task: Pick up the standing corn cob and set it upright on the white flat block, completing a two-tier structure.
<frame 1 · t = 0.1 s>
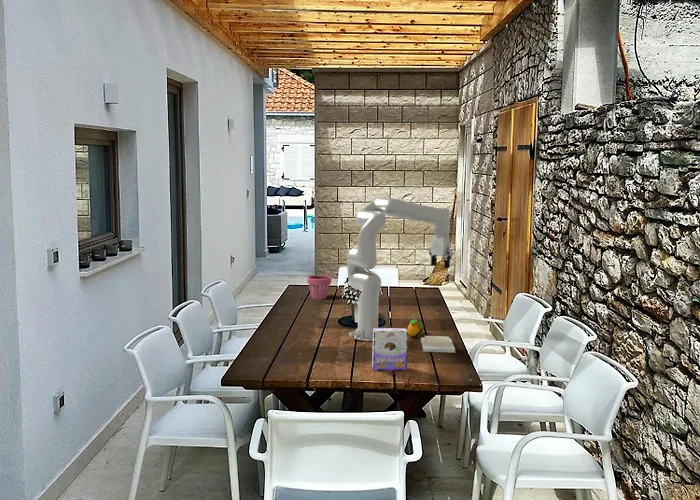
hand: (440, 266, 379), 31 cm above the table, fingers open, 9 cm apart
plant pot: (318, 298, 456), on the table
corn: (414, 336, 363), on the table
candy box: (389, 369, 306), on the table
white flat block: (437, 346, 344), on the table
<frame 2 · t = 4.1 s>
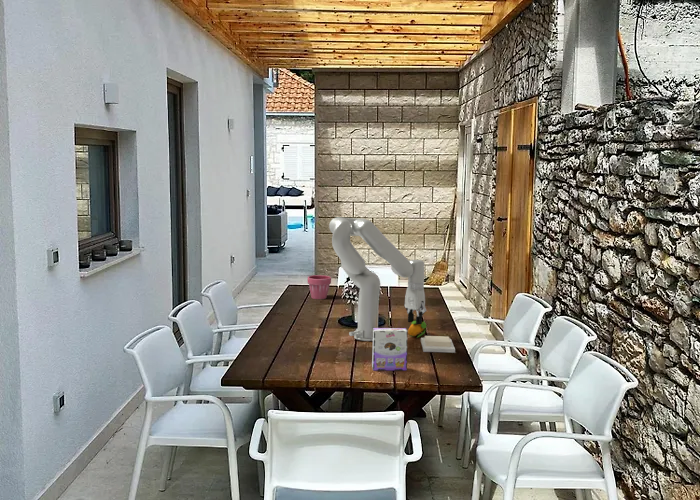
hand: (414, 322, 363), 7 cm above the table, fingers open, 5 cm apart
corn: (416, 336, 363), on the table, touching gripper
everything else where it was.
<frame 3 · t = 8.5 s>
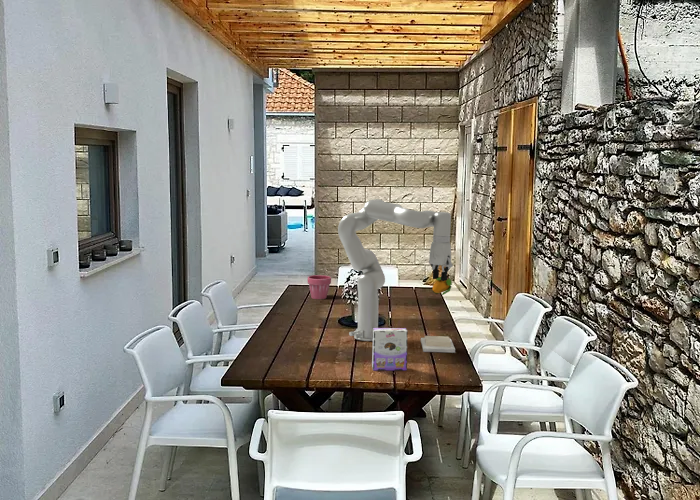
hand: (439, 279, 341), 31 cm above the table, fingers closed on corn, 4 cm apart
corn: (441, 294, 341), point 24 cm above the table, touching gripper
everything else where it was.
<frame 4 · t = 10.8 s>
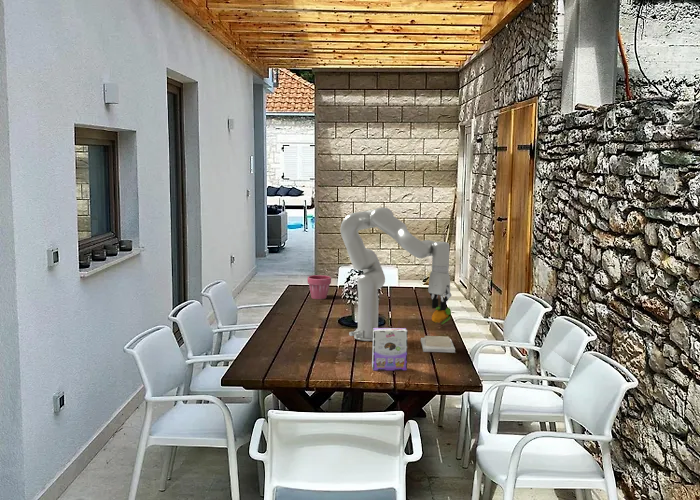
hand: (439, 308, 342), 18 cm above the table, fingers closed on corn, 4 cm apart
corn: (440, 323, 343), point 11 cm above the table, touching gripper
everything else where it was.
when the fingers open (11 cm above the table, at t = 12.5 s): corn drops 1 cm, resting on white flat block.
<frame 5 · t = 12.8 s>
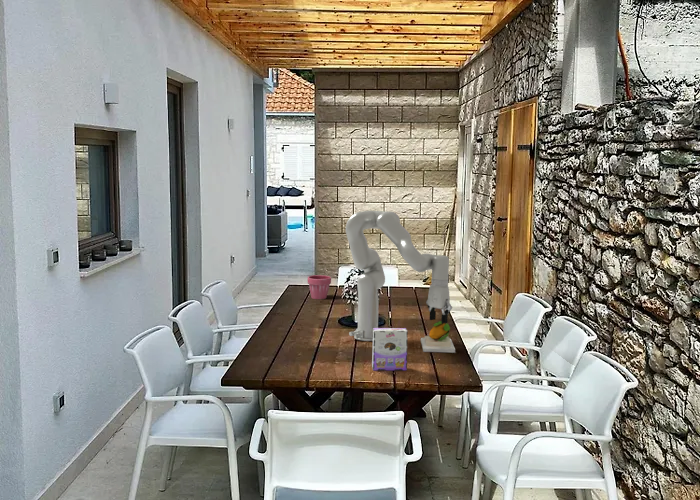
hand: (438, 321, 343), 12 cm above the table, fingers open, 7 cm apart
corn: (438, 339, 344), point 3 cm above the table, touching white flat block
everything else where it was.
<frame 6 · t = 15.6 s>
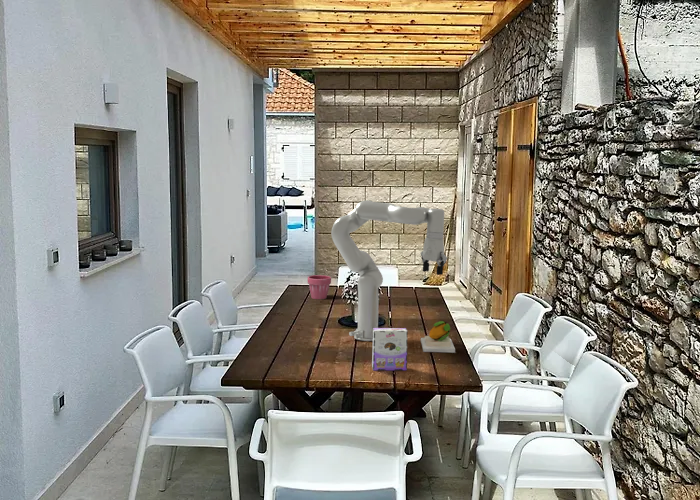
hand: (432, 272, 346), 33 cm above the table, fingers open, 9 cm apart
nothing on the table moved.
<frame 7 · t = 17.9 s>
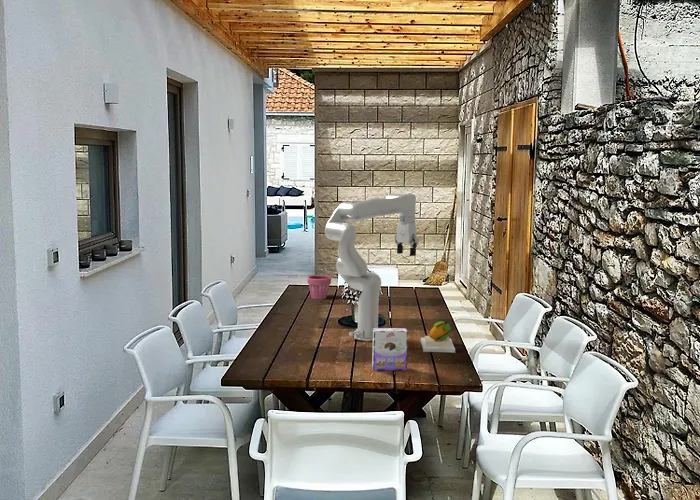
hand: (406, 254, 368), 38 cm above the table, fingers open, 9 cm apart
nothing on the table moved.
at the end: corn inside the target area on the white flat block (0.6 cm from its centre), point 3.3 cm above the white flat block's base; corn touching white flat block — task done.
